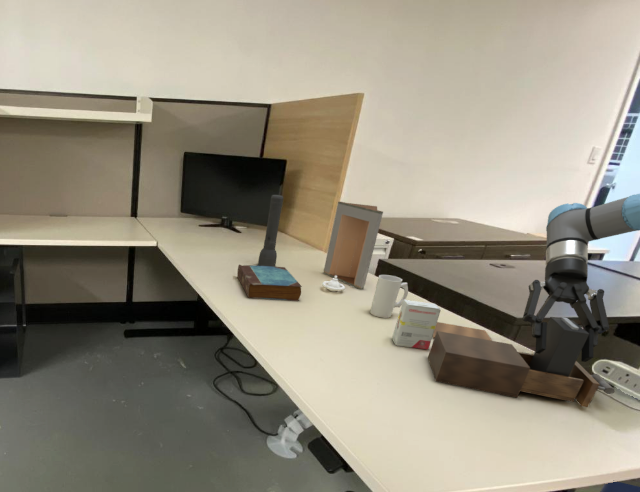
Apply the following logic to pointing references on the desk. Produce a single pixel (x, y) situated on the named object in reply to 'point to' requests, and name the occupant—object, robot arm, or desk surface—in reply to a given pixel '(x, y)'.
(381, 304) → the mug
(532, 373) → the drawer
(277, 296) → the book
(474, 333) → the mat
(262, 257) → the flashlight
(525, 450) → the desk surface
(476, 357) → the cabinet
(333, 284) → the ring around a ball
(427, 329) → the ink box
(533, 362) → the dark grey upright block
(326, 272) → the cabinet
